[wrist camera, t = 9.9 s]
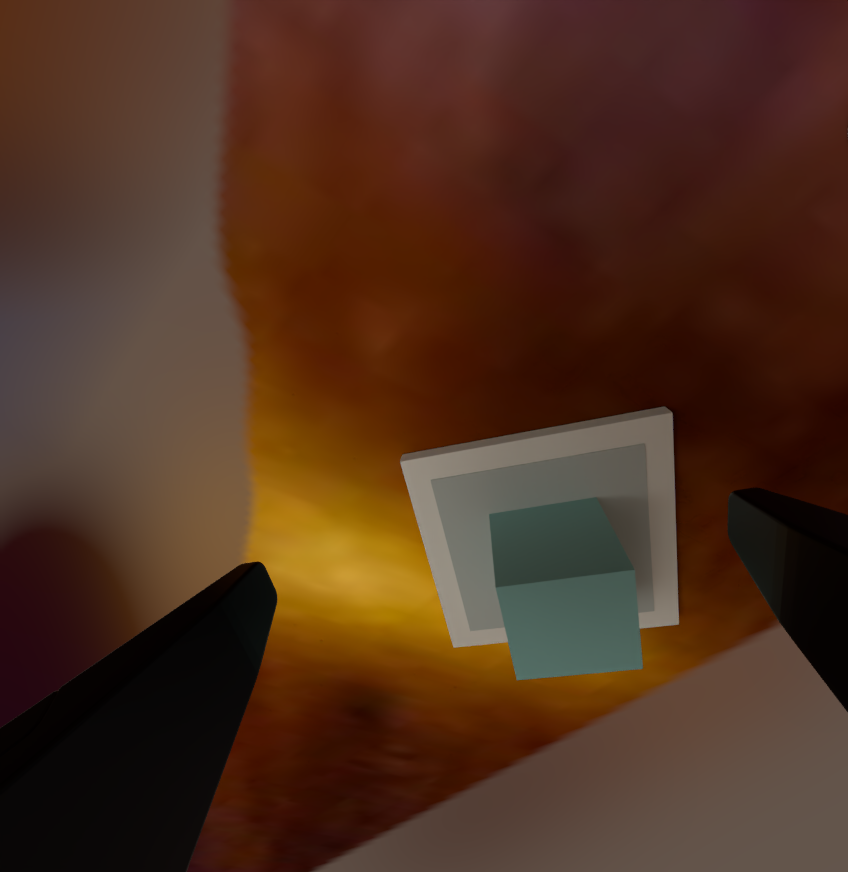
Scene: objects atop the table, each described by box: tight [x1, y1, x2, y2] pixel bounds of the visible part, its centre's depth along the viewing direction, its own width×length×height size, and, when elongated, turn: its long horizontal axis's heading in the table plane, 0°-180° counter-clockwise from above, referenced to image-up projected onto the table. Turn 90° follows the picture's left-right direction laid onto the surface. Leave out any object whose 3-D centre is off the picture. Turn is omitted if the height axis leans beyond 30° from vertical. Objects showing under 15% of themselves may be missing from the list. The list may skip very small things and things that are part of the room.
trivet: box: [400, 406, 679, 647], centre depth 22 cm, size 12×12×1 cm
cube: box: [489, 497, 643, 680], centre depth 19 cm, size 5×5×5 cm
